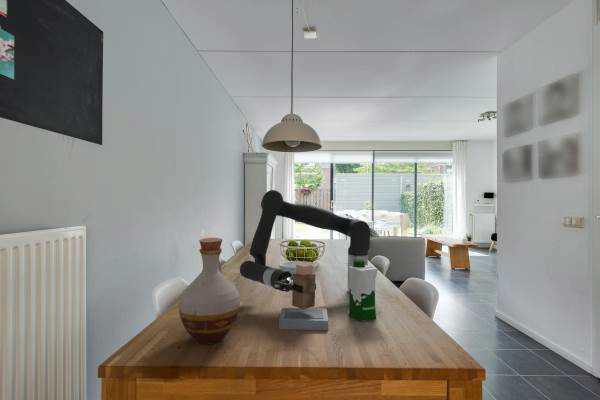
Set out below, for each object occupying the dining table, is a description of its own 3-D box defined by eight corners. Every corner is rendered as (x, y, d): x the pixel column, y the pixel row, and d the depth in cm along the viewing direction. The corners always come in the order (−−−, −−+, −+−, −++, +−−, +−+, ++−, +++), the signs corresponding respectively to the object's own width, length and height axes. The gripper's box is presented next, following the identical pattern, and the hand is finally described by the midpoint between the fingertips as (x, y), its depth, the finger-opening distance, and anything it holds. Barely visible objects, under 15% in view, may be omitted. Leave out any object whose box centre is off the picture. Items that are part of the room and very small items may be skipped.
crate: (303, 302, 116) (304, 271, 116) (314, 306, 112) (315, 274, 112) (292, 305, 113) (292, 273, 113) (303, 309, 109) (303, 276, 109)
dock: (326, 317, 118) (326, 308, 118) (328, 330, 106) (328, 320, 106) (282, 316, 119) (282, 307, 119) (278, 328, 107) (279, 319, 107)
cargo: (304, 271, 115) (304, 263, 115) (312, 273, 112) (312, 265, 112) (295, 273, 113) (296, 264, 113) (303, 275, 110) (304, 266, 110)
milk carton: (364, 311, 125) (364, 258, 125) (380, 319, 117) (380, 262, 117) (345, 314, 121) (345, 260, 121) (360, 323, 113) (361, 264, 113)
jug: (193, 324, 109) (194, 234, 110) (246, 325, 109) (247, 235, 109) (167, 351, 90) (168, 242, 90) (232, 353, 89) (233, 243, 89)
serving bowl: (317, 281, 172) (317, 268, 172) (277, 280, 172) (277, 267, 172) (315, 272, 193) (316, 260, 193) (280, 272, 193) (280, 260, 193)
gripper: (262, 271, 118) (293, 280, 106) (292, 266, 128) (323, 274, 115) (261, 292, 118) (293, 303, 106) (291, 285, 128) (323, 295, 115)
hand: (309, 288), depth 111 cm, fingers closed on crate, 5 cm apart
